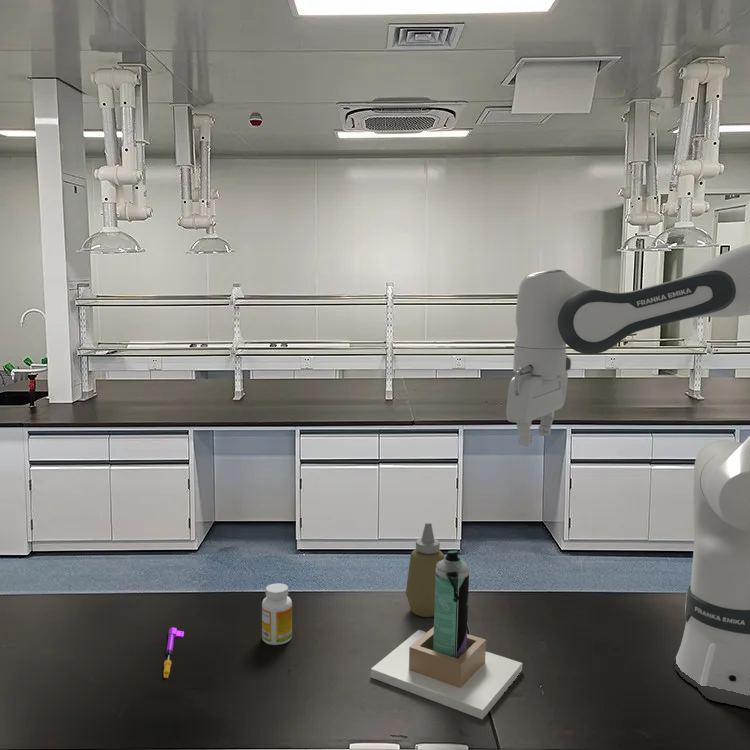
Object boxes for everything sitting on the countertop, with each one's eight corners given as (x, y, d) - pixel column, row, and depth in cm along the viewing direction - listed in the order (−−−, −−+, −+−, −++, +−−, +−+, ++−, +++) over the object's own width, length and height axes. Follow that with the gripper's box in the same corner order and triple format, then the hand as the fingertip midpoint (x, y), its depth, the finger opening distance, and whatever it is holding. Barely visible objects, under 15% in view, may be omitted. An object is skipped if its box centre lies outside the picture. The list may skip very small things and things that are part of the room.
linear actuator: (168, 631, 132) (161, 680, 116) (170, 625, 132) (163, 673, 116) (183, 633, 132) (178, 682, 117) (184, 627, 132) (179, 675, 117)
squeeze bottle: (399, 605, 144) (401, 519, 142) (435, 599, 147) (438, 515, 144) (415, 623, 136) (417, 532, 134) (453, 617, 139) (456, 528, 137)
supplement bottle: (294, 632, 132) (294, 582, 131) (288, 646, 127) (288, 595, 126) (266, 630, 133) (266, 580, 132) (258, 644, 128) (258, 593, 126)
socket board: (521, 671, 120) (523, 640, 120) (482, 719, 107) (483, 685, 106) (418, 637, 131) (419, 609, 130) (370, 677, 118) (371, 645, 117)
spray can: (471, 672, 117) (475, 555, 114) (441, 677, 115) (444, 559, 113) (456, 655, 122) (460, 543, 120) (427, 660, 120) (430, 546, 118)
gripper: (535, 370, 115) (530, 454, 117) (574, 359, 132) (570, 432, 134) (498, 367, 119) (495, 448, 121) (541, 357, 136) (538, 428, 138)
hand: (535, 440), depth 128 cm, fingers open, 8 cm apart
